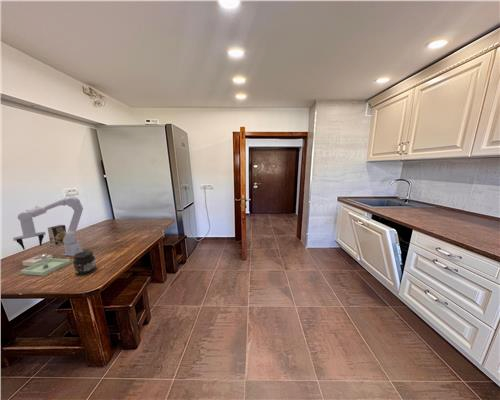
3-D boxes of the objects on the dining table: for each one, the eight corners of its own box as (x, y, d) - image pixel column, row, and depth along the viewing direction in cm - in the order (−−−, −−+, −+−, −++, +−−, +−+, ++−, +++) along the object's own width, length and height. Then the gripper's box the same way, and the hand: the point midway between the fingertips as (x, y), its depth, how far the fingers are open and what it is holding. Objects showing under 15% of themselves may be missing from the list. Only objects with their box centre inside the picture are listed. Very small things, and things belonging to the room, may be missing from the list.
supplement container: (74, 271, 118) (71, 253, 116) (95, 265, 125) (93, 248, 123) (75, 278, 111) (71, 259, 109) (97, 271, 118) (95, 253, 116)
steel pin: (51, 265, 124) (49, 253, 122) (47, 268, 120) (44, 256, 118) (44, 265, 123) (42, 253, 121) (39, 269, 120) (36, 256, 118)
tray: (71, 262, 129) (70, 259, 128) (43, 276, 113) (42, 272, 112) (51, 261, 131) (50, 258, 130) (21, 274, 115) (20, 270, 114)
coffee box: (56, 246, 156) (52, 228, 153) (50, 245, 157) (46, 227, 154) (68, 242, 164) (65, 224, 162) (63, 241, 166) (59, 224, 163)
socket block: (52, 259, 134) (52, 255, 133) (35, 266, 124) (34, 262, 124) (41, 258, 135) (40, 254, 135) (23, 265, 125) (22, 261, 125)
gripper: (43, 225, 135) (46, 242, 138) (11, 230, 124) (15, 249, 126) (44, 226, 131) (48, 244, 134) (11, 232, 120) (16, 252, 122)
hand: (32, 247), depth 130 cm, fingers open, 7 cm apart
